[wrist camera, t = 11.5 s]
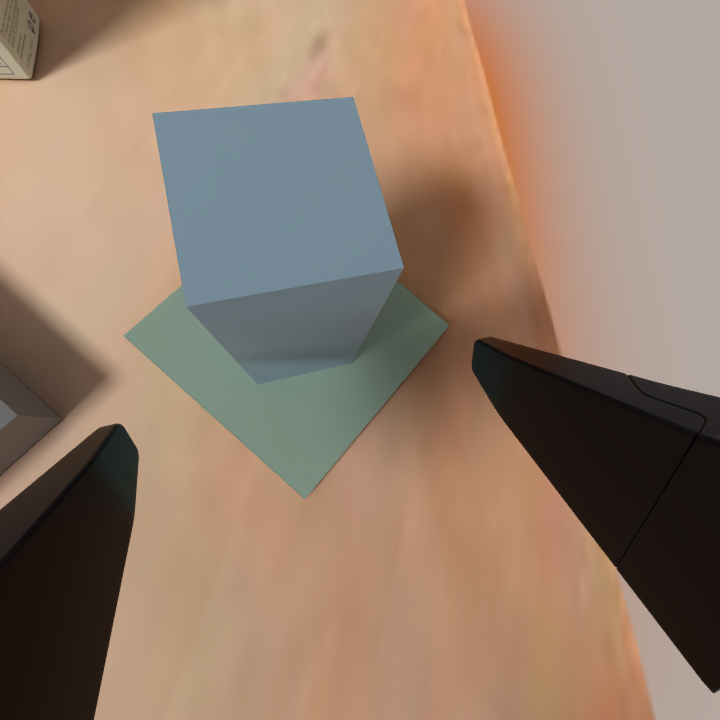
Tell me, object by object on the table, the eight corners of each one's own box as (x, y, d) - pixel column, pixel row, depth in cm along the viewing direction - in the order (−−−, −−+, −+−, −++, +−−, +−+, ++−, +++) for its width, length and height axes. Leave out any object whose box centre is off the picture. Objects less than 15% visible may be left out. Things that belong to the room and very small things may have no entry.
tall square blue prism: (351, 363, 17) (403, 268, 8) (257, 384, 17) (186, 306, 7) (329, 278, 18) (353, 97, 9) (239, 295, 17) (152, 113, 8)
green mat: (446, 328, 19) (449, 325, 19) (304, 497, 16) (304, 499, 16) (292, 196, 20) (291, 189, 19) (128, 338, 17) (123, 335, 16)
